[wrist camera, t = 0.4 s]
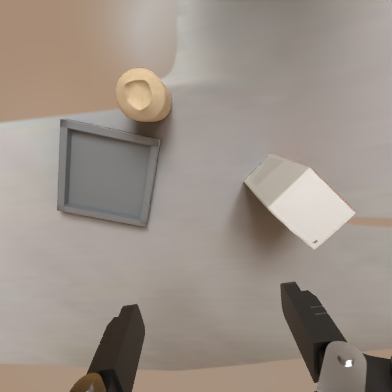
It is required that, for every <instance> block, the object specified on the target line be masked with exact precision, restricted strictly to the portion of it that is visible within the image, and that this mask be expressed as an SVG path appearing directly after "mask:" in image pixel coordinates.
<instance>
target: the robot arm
mask: <svg viewBox="0 0 392 392" xmlns="http://www.w3.org/2000/svg"><path fill="white" fill-rule="evenodd" d="M280 287H281V301H282V309H283V313H284V316H285V319H286V321H287V323H288V326H289V328H290V330H291V332H292V334H293V337H294V339H295V341H296V343H297V346H298V348H299V350H300V352H301V354H302V357H303V359H304V361H305V363H306V366H307V368H308V370H309V372H310V375H311V376H312V379H313V381H314V383H317V382H318V386H317V390H316V392H392V357H391V359H385V358H380V357H374V356H369V355H366V354H363V353H362V352H361V351H360V350H359V349H358V348H356V347H355V346H353V345H352V344H349V343H348V342H347V341H346V340H345V338H344V337H343V335H342V334H341V332H340V331H339V329H338V328H337V326H336V325H335V323H334V322H333V320H332V319H331V317H330V316H329V315H328V314H327V312H326V310H325V309H324V307H323V306H322V304H321V303H320V301H319V300H318V298H317V297H316V296H315V295H313V294H312V293H311V292H309V291H308V290H306V291H301V290H300V289H299V287H298V285H297V284H296V282H289V283H282V284H281V285H280ZM144 336H145V326H144V323H143V319H142V316H141V313H140V310H139V307H138V305H137V304H134V305H127V306H123V307H122V309H121V312H120V314H119V317H114V318H113V319H112V321H111V322H110V323H109V324H108V325H107V327H106V330H105V332H104V334H103V337H102V339H101V341H100V345H99V346H98V349H97V351H96V353H95V356H94V358H93V360H92V363H91V365H90V367H89V370H88V372H87V374H86V375H85V376H83V377H82V378H81V379H79V380H78V381H77V382H76V383H75V384H74V386H73V387H72V389H71V390H70V392H132V388H133V384H134V380H135V375H136V371H137V367H138V363H139V358H140V354H141V350H142V345H143V341H144Z"/></svg>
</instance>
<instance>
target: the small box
mask: <svg viewBox="0 0 392 392" xmlns="http://www.w3.org/2000/svg"><path fill="white" fill-rule="evenodd" d="M244 183H245V184H246V185H247V186H248V187H249V189H250V190H251V191H252V192H253V193H254V194H255V196H256V197H257V198H258V199H259V200H260V201H261V202H262V203H263V205H264V206H265V207H266V208H267V209H268V210H269V211H270V212H271V213H272V214H273V215H274V216H275V217H276V218H278V219H279V220H280V221H281V222H282V223H283V224H284V225H285V226H286V227H287V228H288V229H289V230H290V231H292V232H293V233H294V234H295V235H296V236H298V237H299V238H300V239H301V240H302V241H304V242H305V243H306V244H307V245H308V246H309V247H311V248H312V249H313V250H315V249H316V248H317V247H318V246H319V245H321V244H322V243H323V242H324V241H325V240H327V239H328V238H329V237H330V236H331V235H332V234H333V233H334V232H336V231H337V230H338V229H339V228H340V227H341V226H342V225H343V224H345V223H346V222H347V221H348V220H349V219H350V218H351V217H352V216H353V215H355V214H356V212H355V211H354V210H353V209H352V208H351V207H350V206H349V205H348V204H347V203H346V202H345V201H344V200H343V199H342V198H341V197H340V196H339V195H338V194H337V193H336V192H335V191H334V190H333V189H332V188H331V187H330V186H329V185H328V184H327V183H326V182H325V181H324V180H323V179H322V178H321V177H320V176H319V175H318V174H317V173H316V172H315V171H314V170H313V169H312V168H311V167H307V166H305V165H302V164H299V163H296V162H294V161H291V160H288V159H286V158H283V157H280V156H278V155H275V154H272V153H271V154H269V155H268V157H267V158H266V159H265V160H264V161H263V162H262V163H261V164H260V165H259V166H258V167H257V168H256V169H255V170H254V171H253V172H252V173H251V174H250V175H249V176H248V178H247V179H246V180H245V181H244Z"/></svg>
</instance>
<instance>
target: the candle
mask: <svg viewBox="0 0 392 392" xmlns="http://www.w3.org/2000/svg"><path fill="white" fill-rule="evenodd" d="M116 100H117V103H118V105H119V107H120V109H121V110H122V112H123V113H124V114H125V115H126V116H128V117H129V118H131V119H133V120H136V121H142V122H156V121H160V120H162V119H164V118H165V117H166V116H167V115H168V113H169V112H170V109H171V105H172V99H171V95H170V93H169V91H168V89H167V88H166V87H165V85H164V84H163V83H162V82H161V80H160V79H159V78H158V77H157V76H156V75H155V74H154V73H153V72H151V71H150V70H147V69H144V68H134V69H130V70H128V71H127V72H125V73H124V74H123V75H122V76H121V77H120V79H119V81H118V83H117V86H116Z"/></svg>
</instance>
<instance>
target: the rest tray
mask: <svg viewBox="0 0 392 392" xmlns="http://www.w3.org/2000/svg"><path fill="white" fill-rule="evenodd" d="M160 143H161V139H157V138H153V137H148V136H143V135H139V134H134V133H129V132H125V131H120V130H115V129H111V128H106V127H101V126H97V125H92V124H87V123H83V122H78V121H73V120H69V119H60V146H59V173H58V200H57V211H62V212H68V213H73V214H78V215H84V216H89V217H95V218H100V219H105V220H111V221H116V222H121V223H127V224H132V225H137V226H143V227H146V224H147V222H148V217H149V210H150V204H151V198H152V192H153V186H154V180H155V174H156V168H157V161H158V155H159V149H160Z"/></svg>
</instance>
